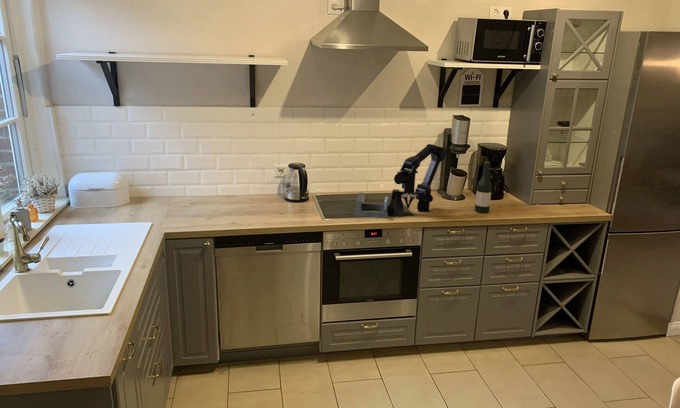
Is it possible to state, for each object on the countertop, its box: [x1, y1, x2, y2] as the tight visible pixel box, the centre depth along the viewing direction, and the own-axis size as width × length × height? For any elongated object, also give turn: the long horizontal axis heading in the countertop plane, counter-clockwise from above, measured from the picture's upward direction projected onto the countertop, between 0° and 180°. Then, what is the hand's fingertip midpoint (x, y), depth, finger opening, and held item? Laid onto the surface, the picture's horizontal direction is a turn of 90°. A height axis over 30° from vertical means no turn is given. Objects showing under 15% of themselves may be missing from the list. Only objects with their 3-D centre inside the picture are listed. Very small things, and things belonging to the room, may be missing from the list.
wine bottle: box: [474, 160, 493, 215], centre depth 298 cm, size 8×8×30 cm
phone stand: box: [387, 195, 406, 218], centre depth 291 cm, size 9×6×12 cm, turn 47°
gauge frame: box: [354, 192, 390, 219], centre depth 293 cm, size 18×17×9 cm
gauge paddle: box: [383, 196, 389, 214], centre depth 290 cm, size 2×18×8 cm, turn 172°
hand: (407, 208), depth 291 cm, fingers closed
